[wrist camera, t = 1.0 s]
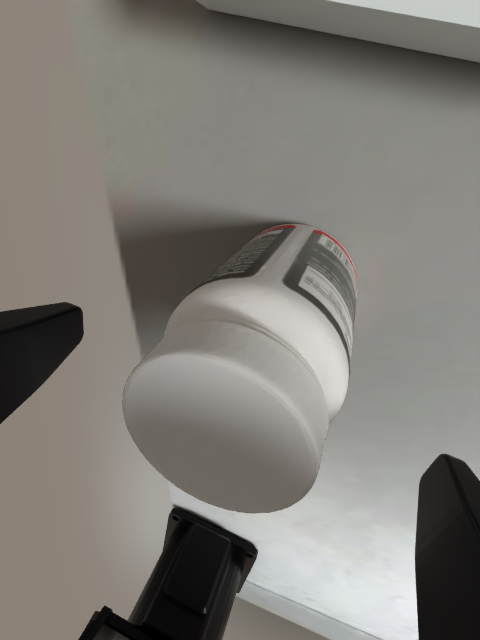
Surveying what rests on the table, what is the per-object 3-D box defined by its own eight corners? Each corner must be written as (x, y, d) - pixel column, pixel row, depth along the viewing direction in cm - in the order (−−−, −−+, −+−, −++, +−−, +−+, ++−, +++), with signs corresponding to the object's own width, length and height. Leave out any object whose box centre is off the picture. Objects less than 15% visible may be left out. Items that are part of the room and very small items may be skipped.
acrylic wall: (620, 89, 8) (725, 71, 6) (207, 9, 10) (154, -31, 8) (654, 37, 8) (787, -8, 5) (213, -37, 10) (157, -96, 7)
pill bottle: (232, 319, 15) (112, 477, 8) (244, 210, 13) (86, 304, 6) (340, 348, 14) (306, 559, 7) (375, 235, 12) (376, 388, 5)
